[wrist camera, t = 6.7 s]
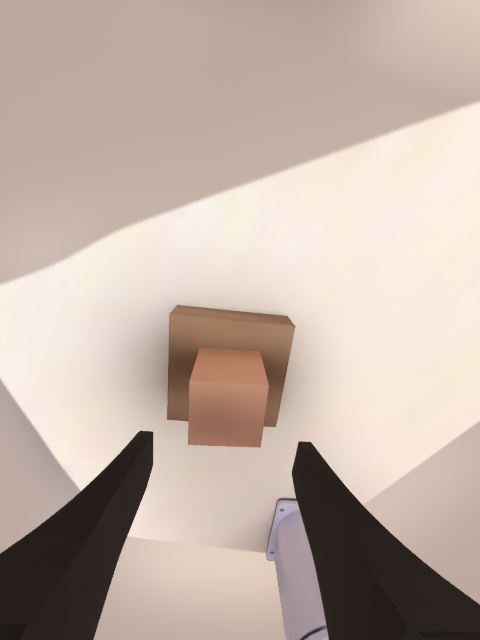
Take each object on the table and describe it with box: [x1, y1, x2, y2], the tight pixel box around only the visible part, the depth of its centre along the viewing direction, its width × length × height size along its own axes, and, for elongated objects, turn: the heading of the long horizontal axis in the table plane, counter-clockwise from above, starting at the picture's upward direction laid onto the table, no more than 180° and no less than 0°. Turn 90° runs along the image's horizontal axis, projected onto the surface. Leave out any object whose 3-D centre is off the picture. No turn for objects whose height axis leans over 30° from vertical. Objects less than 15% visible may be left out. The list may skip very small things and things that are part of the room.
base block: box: [167, 305, 295, 427], centre depth 20 cm, size 9×9×2 cm
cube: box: [188, 348, 269, 447], centre depth 16 cm, size 4×4×4 cm
